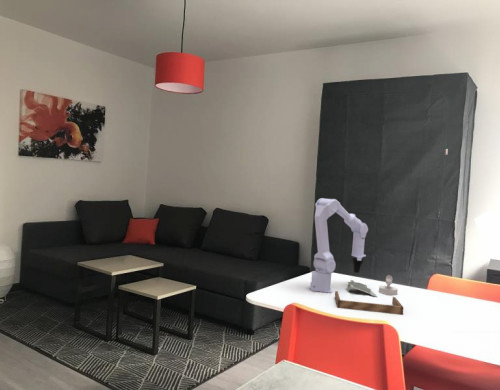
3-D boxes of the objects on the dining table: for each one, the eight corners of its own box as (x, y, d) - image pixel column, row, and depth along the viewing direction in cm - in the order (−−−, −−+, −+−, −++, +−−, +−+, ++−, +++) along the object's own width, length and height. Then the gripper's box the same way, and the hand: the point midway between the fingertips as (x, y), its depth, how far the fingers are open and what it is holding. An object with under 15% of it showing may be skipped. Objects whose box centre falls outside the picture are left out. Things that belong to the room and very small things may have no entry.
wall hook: (379, 274, 200) (380, 271, 210) (378, 294, 200) (379, 289, 210) (398, 276, 197) (398, 273, 207) (397, 296, 198) (397, 292, 207)
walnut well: (337, 307, 172) (338, 300, 171) (334, 297, 187) (335, 291, 187) (402, 314, 168) (403, 307, 168) (394, 303, 184) (395, 297, 184)
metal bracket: (352, 283, 194) (346, 276, 209) (348, 295, 194) (342, 287, 209) (381, 294, 194) (373, 286, 209) (377, 306, 194) (368, 297, 209)
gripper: (368, 248, 203) (366, 276, 204) (364, 244, 218) (362, 270, 218) (353, 247, 204) (351, 274, 205) (350, 243, 219) (348, 269, 219)
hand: (356, 272), depth 211 cm, fingers closed
